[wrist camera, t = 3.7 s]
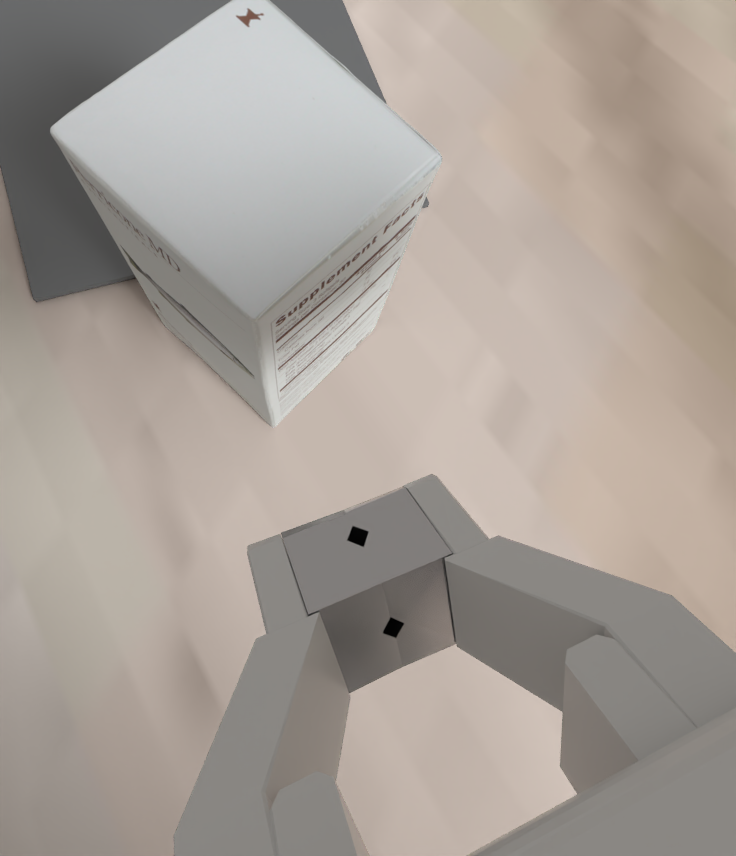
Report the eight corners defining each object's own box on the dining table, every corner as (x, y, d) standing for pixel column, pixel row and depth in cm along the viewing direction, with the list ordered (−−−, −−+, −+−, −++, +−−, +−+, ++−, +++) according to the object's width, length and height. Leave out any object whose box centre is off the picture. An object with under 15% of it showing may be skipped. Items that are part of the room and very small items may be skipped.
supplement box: (160, 327, 25) (31, 118, 13) (274, 232, 27) (256, -30, 15) (272, 435, 25) (248, 326, 12) (380, 332, 27) (452, 147, 14)
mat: (427, 206, 29) (429, 203, 28) (36, 301, 25) (33, 298, 25) (300, -93, 33) (300, -99, 33) (-51, -51, 29) (-55, -57, 29)
